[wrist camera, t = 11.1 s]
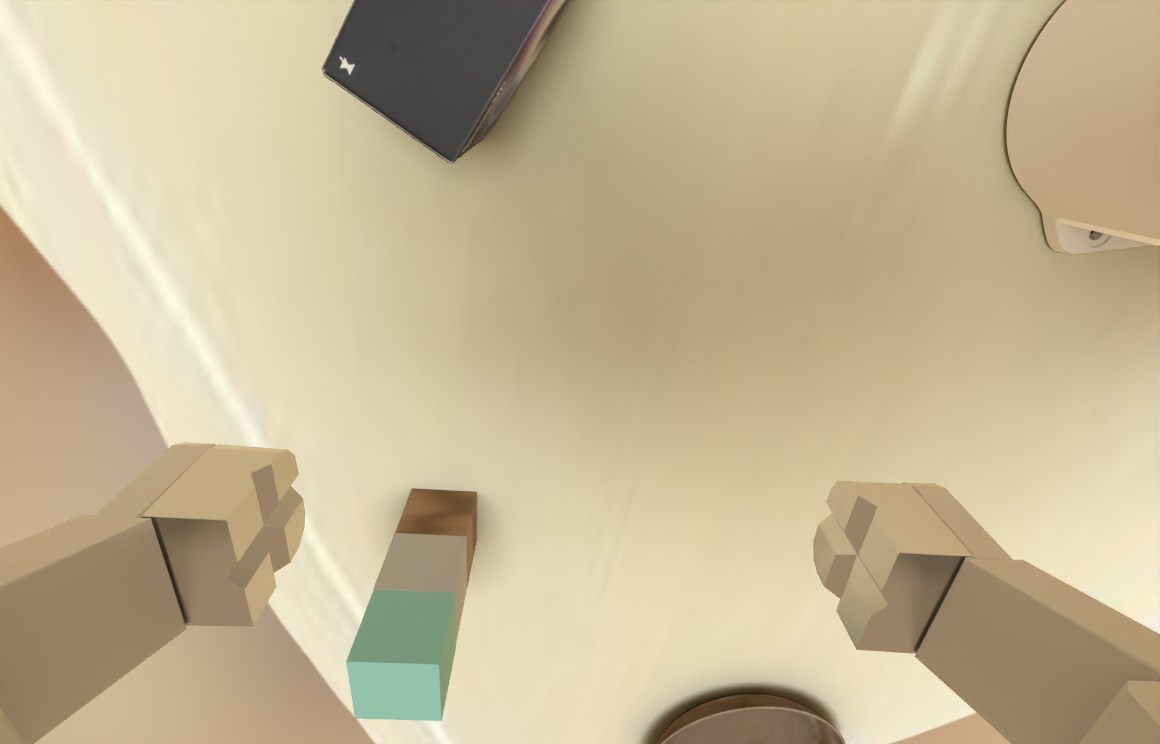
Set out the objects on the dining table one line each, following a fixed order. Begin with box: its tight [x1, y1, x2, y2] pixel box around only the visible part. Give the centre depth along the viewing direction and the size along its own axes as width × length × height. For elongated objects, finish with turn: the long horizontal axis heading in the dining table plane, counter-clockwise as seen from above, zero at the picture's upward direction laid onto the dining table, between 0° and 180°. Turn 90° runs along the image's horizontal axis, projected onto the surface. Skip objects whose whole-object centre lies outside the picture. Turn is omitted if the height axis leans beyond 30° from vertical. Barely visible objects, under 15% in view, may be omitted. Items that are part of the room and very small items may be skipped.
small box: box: [322, 0, 570, 163], centre depth 26 cm, size 11×6×10 cm, turn 144°
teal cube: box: [347, 589, 456, 721], centre depth 35 cm, size 5×5×5 cm
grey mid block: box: [374, 533, 467, 640], centre depth 39 cm, size 5×5×5 cm
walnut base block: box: [395, 489, 477, 586], centre depth 44 cm, size 5×5×5 cm
